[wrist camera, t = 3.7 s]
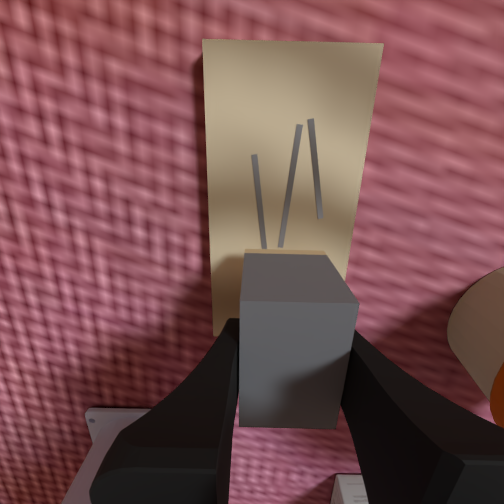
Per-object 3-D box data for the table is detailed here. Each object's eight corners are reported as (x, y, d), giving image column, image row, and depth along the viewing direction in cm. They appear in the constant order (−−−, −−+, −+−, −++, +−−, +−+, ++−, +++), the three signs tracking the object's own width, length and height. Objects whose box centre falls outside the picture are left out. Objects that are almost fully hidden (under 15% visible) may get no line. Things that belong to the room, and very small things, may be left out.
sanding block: (311, 346, 16) (335, 429, 11) (243, 344, 16) (238, 426, 11) (323, 250, 14) (359, 303, 9) (244, 248, 14) (240, 300, 9)
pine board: (330, 327, 19) (335, 339, 18) (215, 324, 19) (213, 336, 18) (372, 52, 13) (384, 43, 12) (206, 48, 13) (202, 38, 12)
